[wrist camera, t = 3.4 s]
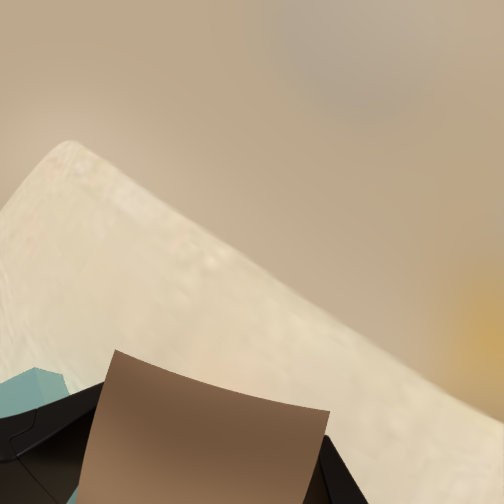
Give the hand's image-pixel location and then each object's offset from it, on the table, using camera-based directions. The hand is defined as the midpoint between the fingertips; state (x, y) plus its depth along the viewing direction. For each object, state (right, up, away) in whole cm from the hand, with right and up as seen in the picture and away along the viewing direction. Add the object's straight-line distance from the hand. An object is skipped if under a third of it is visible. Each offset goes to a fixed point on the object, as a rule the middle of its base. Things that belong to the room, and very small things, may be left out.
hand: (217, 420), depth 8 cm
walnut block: (-1, -4, +5) cm, 7 cm away
